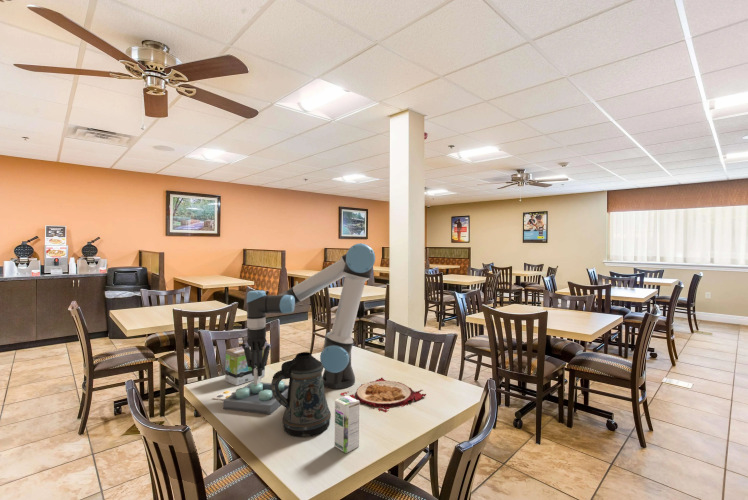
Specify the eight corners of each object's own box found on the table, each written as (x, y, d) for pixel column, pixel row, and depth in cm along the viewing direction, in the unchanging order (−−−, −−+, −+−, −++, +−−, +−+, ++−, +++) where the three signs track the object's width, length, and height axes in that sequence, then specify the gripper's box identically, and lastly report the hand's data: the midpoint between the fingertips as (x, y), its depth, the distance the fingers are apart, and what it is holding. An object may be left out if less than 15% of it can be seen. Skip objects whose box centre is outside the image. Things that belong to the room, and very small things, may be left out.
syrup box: (333, 446, 111) (333, 399, 111) (348, 439, 115) (348, 394, 115) (345, 454, 107) (345, 405, 107) (360, 446, 111) (360, 399, 111)
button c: (265, 389, 152) (265, 383, 152) (258, 394, 148) (258, 388, 148) (254, 388, 154) (254, 382, 154) (247, 393, 149) (247, 387, 149)
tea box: (237, 386, 160) (236, 353, 160) (224, 381, 166) (224, 349, 166) (265, 376, 172) (265, 346, 172) (253, 372, 178) (253, 342, 178)
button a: (286, 387, 150) (286, 381, 150) (280, 391, 145) (280, 385, 145) (275, 386, 151) (275, 380, 151) (269, 390, 146) (269, 384, 146)
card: (241, 393, 152) (241, 391, 152) (230, 400, 144) (230, 399, 144) (225, 391, 154) (225, 389, 154) (212, 398, 146) (212, 397, 146)
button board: (294, 393, 152) (294, 385, 152) (270, 414, 132) (270, 405, 132) (252, 389, 157) (252, 381, 157) (223, 408, 137) (223, 400, 137)
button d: (251, 394, 143) (251, 388, 143) (244, 399, 138) (244, 393, 138) (240, 393, 144) (240, 387, 144) (233, 398, 139) (233, 391, 139)
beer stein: (340, 421, 127) (340, 351, 127) (303, 447, 110) (302, 366, 110) (304, 410, 136) (304, 344, 135) (265, 433, 119) (264, 358, 119)
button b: (274, 396, 140) (274, 390, 140) (268, 402, 135) (268, 395, 135) (263, 395, 142) (263, 389, 141) (256, 400, 137) (256, 394, 137)
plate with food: (382, 381, 167) (381, 374, 168) (426, 397, 148) (426, 389, 148) (339, 397, 151) (339, 388, 151) (383, 417, 131) (383, 407, 131)
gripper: (275, 326, 153) (275, 381, 153) (247, 325, 156) (248, 379, 156) (265, 330, 145) (266, 388, 145) (237, 328, 148) (238, 385, 148)
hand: (257, 383), depth 151 cm, fingers closed
